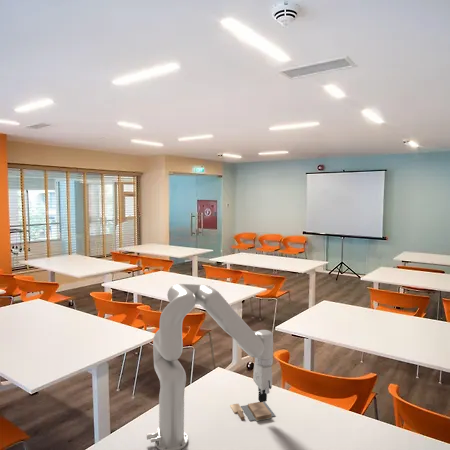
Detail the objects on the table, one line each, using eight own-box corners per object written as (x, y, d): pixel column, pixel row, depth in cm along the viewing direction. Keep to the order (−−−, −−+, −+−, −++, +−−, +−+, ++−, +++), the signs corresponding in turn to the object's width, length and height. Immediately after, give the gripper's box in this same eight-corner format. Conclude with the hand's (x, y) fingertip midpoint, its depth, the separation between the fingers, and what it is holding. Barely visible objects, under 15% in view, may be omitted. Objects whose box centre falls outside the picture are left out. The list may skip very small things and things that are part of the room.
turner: (238, 420, 153) (238, 417, 153) (230, 406, 164) (230, 403, 164) (247, 418, 155) (247, 415, 155) (238, 404, 165) (238, 402, 165)
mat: (249, 421, 153) (250, 420, 153) (240, 406, 163) (240, 406, 163) (275, 416, 157) (275, 415, 157) (265, 402, 167) (265, 401, 167)
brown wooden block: (256, 416, 153) (247, 403, 162) (256, 421, 153) (247, 407, 162) (271, 414, 155) (262, 401, 164) (271, 418, 155) (261, 405, 164)
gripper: (248, 353, 160) (247, 393, 161) (262, 369, 145) (261, 412, 147) (264, 351, 162) (263, 390, 163) (279, 366, 148) (278, 409, 149)
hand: (262, 400), depth 155 cm, fingers closed
